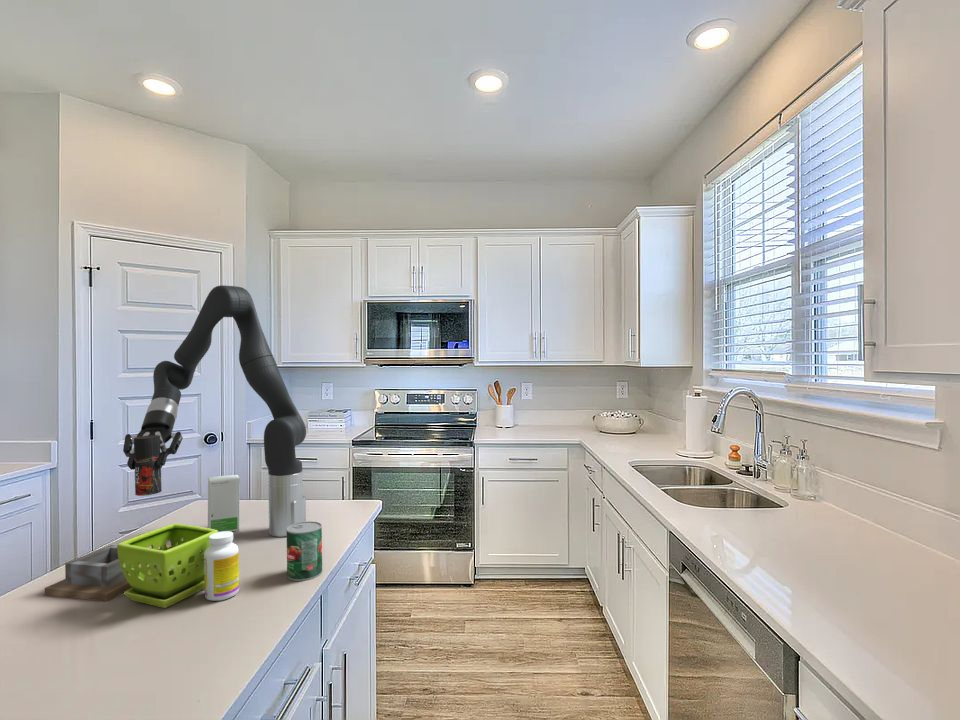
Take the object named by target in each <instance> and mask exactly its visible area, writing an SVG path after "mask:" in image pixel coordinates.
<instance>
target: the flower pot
mask: <svg viewBox="0 0 960 720" xmlns="http://www.w3.org/2000/svg"><path fill="white" fill-rule="evenodd" d="M217 532H218V531H217V530H214V529H210V528H208V527H203V526H197V525H189V524H184V523H183V524H182V523H172V524H169V525H166V526H163V527H159V528H156V529H154V530H151V531H148V532H145V533H142V534H140V535H136V536H134V537H131V538H129V539H127V540H124V541H122V542H120V543H119V542H118V543H117V552H118V558H119V563H120V566H121V569H122V572H123V574H124V576H125V578H126V580H127V581H128V583H129V584H130V586H131V587H132V588H131V589H129V590H127V591H125V592H124V593H123V594H124V595H125V597H127V598H128V599H130V600H132V601H134V602H139V603H142V604H146V605H150V606H153V607H154V606H155V607H159V608H163V609H166V608H169V607H170V606H172V605H174V604H177V603H179V602H181V601H183V600H185V599H186V598H188V597H191V596H192V595H195V594H196V593H198V592H200V591H205V586H204V552H205V550H206V549H207V548H208V547H210V544H209V536H210V535H211V534H214V533H217ZM167 542H170V545H171V546H170V547H169V548H167V546H166V545H167ZM149 546H151V547H152V549H151V548H147V547H149ZM159 547H160V550H158V548H159ZM139 563H140V564H139Z"/></svg>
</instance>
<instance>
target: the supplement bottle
mask: <svg viewBox="0 0 960 720" xmlns="http://www.w3.org/2000/svg"><path fill="white" fill-rule="evenodd" d="M233 540H234V532H230V531H223V532H217V533H214V534H211V535H210V536H209V544H210V547H208V548H207V549H206V550H205V552H204V586H205V588H204V598H205V599H206V600H207V601H211V602H212V601H213V602H219V601H224V600H228V599H230V598H232V597H234V596H235V595H237V594H238V593H239V591H240V563H239V562H240V561H239V559H240V557H239V556H240V554H239V552H240V551H239V547H238V545H237V544H236V543H234V542H233Z"/></svg>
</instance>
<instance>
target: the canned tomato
mask: <svg viewBox="0 0 960 720" xmlns="http://www.w3.org/2000/svg"><path fill="white" fill-rule="evenodd" d="M322 526H323V525H322V523H321V522H318V521H311V520H310V521H308V520H306V522H299V523H295V524H292V525H290V526H288V527H287V528H286V531H287V536H285V537H286V577H287V579H289V580H290V581H295V582H305V581H309V580H314V579H316V578H318V577H320V576H321V575H322V574H323V572H324V571H323V533H322V532H323V530H322V529H323V528H322Z"/></svg>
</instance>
